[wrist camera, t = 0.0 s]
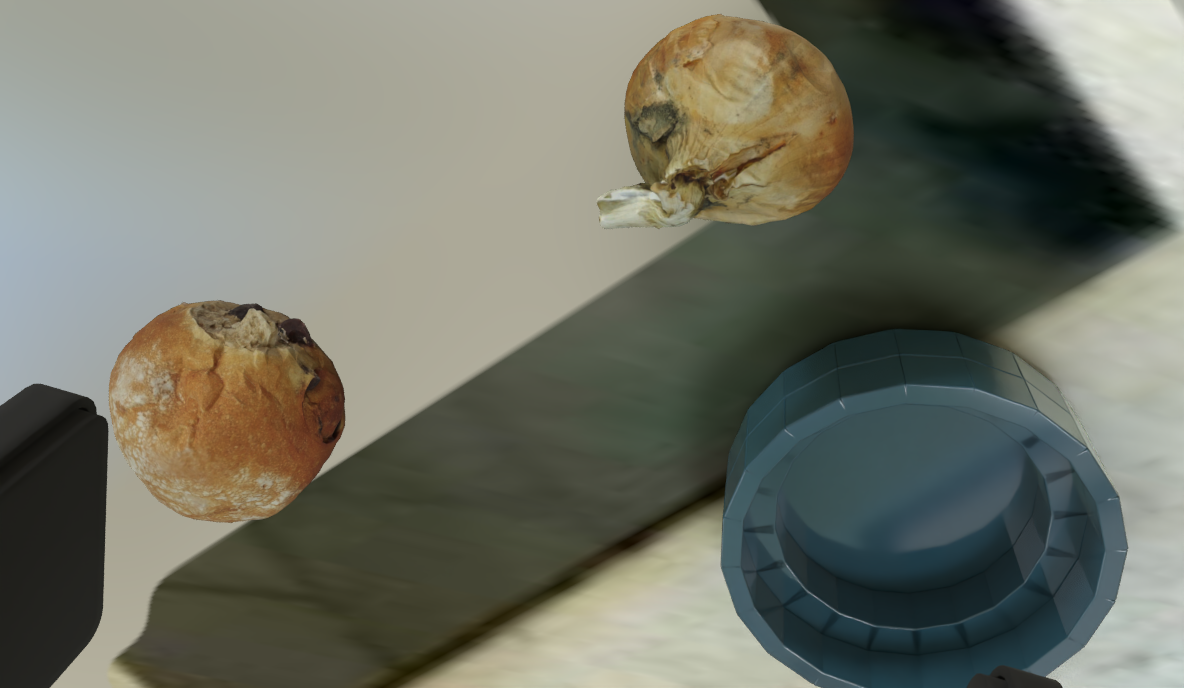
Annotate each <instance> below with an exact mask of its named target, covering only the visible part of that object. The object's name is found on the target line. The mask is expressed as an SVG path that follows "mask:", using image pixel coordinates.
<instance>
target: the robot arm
mask: <svg viewBox="0 0 1184 688" xmlns="http://www.w3.org/2000/svg"><path fill="white" fill-rule="evenodd" d="M107 457H108V423H107V421H106V419H105V418H104V417H103V416H100V415H97V412H96V406H95V404H94V402H93V401H92V400H91V399H89V398H88V397H84V396H81V395H78V394H74V393H71V392H67V391H64V390H60V389H57V388H53V387H50V386H47V385H43V384H33V385H31V386H29V387H27V388H25V389H24V390H22V391H21V392H19V393H18V394H17V395H15V396H14V397H12V398H11V399H9V400H8V401H7V402H5V403H4V404H2V405H1V406H0V688H50V687H51V685H52V684H53V683H54V682H55V681H56V680H57V679H58V678H59V677H60V675H61V674H62V673H63V672H64V671H65V670H66V669H67V667H68V666H69V665H70V664H71V663H72V662H73V661H74V659H75V658H76V657H77V656H78V655H79V654H80V653H81V652H82V650H83V649H84V648H85V647H86V646H87V645H88V643H89V642H90V641H91V639H92V637H93V636H94V634H95V632H96V630H97V628H98V625H99V623H100V620H101V616H102V611H103V587H104V556H105V554H104V553H105V522H106V491H107V490H106V488H107ZM967 688H1062V686H1061V684H1060V683H1059V682H1057V681H1056V680H1053V679H1050V678H1046V677H1043V676H1040V675H1036V674H1033V673H1029V672H1026V671H1022V670H1019V669H1016V668H1012V667H1009V666H1005V665H1000V666H998V667H996V668H995V669H994V670H993V671H992V673H991V674H990V676H988V675H985V674H981V673H978V674H976V675H975V676H973V677H972V679H971V680H970V682H969V684H968V686H967Z"/></svg>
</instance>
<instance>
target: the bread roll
mask: <svg viewBox="0 0 1184 688" xmlns="http://www.w3.org/2000/svg"><path fill="white" fill-rule="evenodd" d="M344 402H345V397H344V388H343V385H342V383H341V380H340V378H339V376H338V373H337V371H336V369H335V367H334V365H333V362H332V361H331V360H330V359H329V358H328V356H327V355H326V354H325V353H324V352H323V351H322V350H321V348H320V347H319V346H318V345H317V344H316V343H315V342H314V340H313V339H311V337H310V334H309V332H308V330H307V328H306V326H305V324H304V323H303V322H302V321H301V320H300V319H289V317H288V316H286V315H283V314H282V313H279V312H275V311H271V310H267V309H265V308H262V306H260V305H258V304H244V305H239V304H235V303H230V302H224V301H221V300H220V301H206V302H198V303H191V304H187V303H185V302H183V303H182V304H181V305H178V306H176V307H173V308H171V309H170V310H168V311H166V312H164V313H162V314H160V315H158V316H157V317H156V318H154V319H153V320H152V321H151V322H149V323H148V324H147V325H146V326H145V327H144V328H142V329H141V330H140V331H139V332H137V333H136V334H135V335H134V336H133V339H132V340H131V341H130V342H129V343H128V344H127V345H126V346H125V347H124V349H123V350H122V352H121V353H120V354H119V356H118V358H117V361H116V363H115V366H114V368H113V370H112V372H111V376H110V383H109V406H110V412H111V418H112V424H113V429H114V434H115V437H116V440H117V442H118V445H119V448H120V449H121V451H122V453H123V455H124V457H125V459H126V461H127V462H128V464H129V465H130V467H131V468H132V469H133V471H134V472H135V473H136V475H137V477H139V479H140V480H141V481H142V482H143V483H144V484H145V486H146V487H147V489H148V490H149V491H150V492H151V494H152V495H153V496H154V497H155V498H156V499H157V500H158V501H160V502H161V503H163V504H164V505H166V506H167V507H169V508H170V509H172V510H174V511H175V512H176V513H178V514H181V515H182V516H185V517H189V518H192V519H196V520H205V521H213V522H228V523H232V522H237V521H246V520H258V519H264V518H268V517H270V516H272V515H274V514H276V513H278V512H279V511H281V510H282V509H283V508H284V507H286V506H287V505H288V504H289V503H291V502H292V501H293V500H294V499H295V498H296V497H297V495H298V494H299V493H300V492H301V491H302V490H303V489H304V488H305V487H306V486H307V485H309V484H310V483H311V481H312V480H313V479H314V478H315V477H316V475H317V474H318V473H319V471H320V470H321V468H322V466H323V464H324V463H325V462H326V460H327V459H328V458H329V457H330V455H331V453H332V451H333V449H334V447H335V445H336V443H337V442H338V440H339V439H340V437H341V435H342V432H343V429H344V426H345V409H344Z"/></svg>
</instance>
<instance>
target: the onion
mask: <svg viewBox="0 0 1184 688" xmlns="http://www.w3.org/2000/svg"><path fill="white" fill-rule="evenodd" d="M625 125H626V132H627V137H628V142H629V147H630V151H631V155H632V157H633V160H634V162H635V165H636V167H637V170H638V171H639V173H640V175H641V176H642V178H643V179H644V181H645V183H640V184H637V185H634V186H630V187H622V188H620V189H618V190H610V191H608V192H607V193H605V194H603V195H601V196H599V198H598V200H597V205H598V207H599V209H600V216H599V221H600V226H601V227H603V228H604V229H613V228H629V227H656V228H658V229H659V228H661V227H676V226H682V225H684V224H686V223H688V222H689V221H690V220H691V219H692V218H698V219H703V220H713V221H722V222H726V223H740V224H747V225H752V226H755V225H759V224H763V223H767V222H771V221H778V220H785V219H788V218H790V217H793V216H796V215H799V214H800V213H803V212H805V211H808V210H810V209H812V208H813V207H814V206H815V205H817V204H818V203H819V202H820V201H821V200H823V199H824V198H825V197H826V196H827V195H828V194H830V193H831V191H832V190H833V189H834V188H835V187H836V185H837V184H838V183H839V181H840V180H841V178H842V177H843V175H844V173H845V171H846V169H847V167H848V164H849V161H850V158H851V155H852V150H853V134H854V131H853V118H852V112H851V108H850V103H849V99H848V96H847V93H846V91H845V88H844V85H843V84H842V82H841V80H840V78H839V77H838V75H837V73H836V71H835V70H834V68H833V66H832V64H831V62H830V61H829V60H828V58H827V57H826V56H825V55H824V54H823V53H822V52H821V51H820V50H819V49H817V48H816V47H815V46H813V45H812V44H811V43H810V42H809V41H807V40H806V39H804V38H803V37H801V36H799V35H798V34H796V33H794V32H792V31H790V30H788V29H786V28H783V27H781V26H778V25H774V24H770V23H766V22H764V21H756V20H749V19H743V18H738V17H728V16H723V15H721V14H717V15H711V16H706V17H703V18H700V19H698V20H695V21H692V22H690V23H688V24H686V25H684V26H681V27H679V28H677V29H674V30H673V31H671V32H670V33H669V34H668V35H667V36H666V37H665V38H663V39H662V40H660V41H659V42H658V43H657V44H656V45H655V46H654V47H653V48H652V49H651V50H650V51H649V52H648V53H647V54H646V55H645V56H644V58H643V59H642V60H641V61H640V62H639V64H638V65H637V67H636V69H635V70H634V72H633V74H632V77H631V79H630V81H629V83H628V87H627V91H626V99H625Z"/></svg>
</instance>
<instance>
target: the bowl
mask: <svg viewBox="0 0 1184 688" xmlns="http://www.w3.org/2000/svg"><path fill="white" fill-rule="evenodd" d="M1127 549H1128V544H1127V538H1126V532H1125V527H1124V521H1123V515H1122V509H1121V504H1120V498H1119V495H1118V493H1117V491H1116V489H1115V487H1114V485H1113V483H1112V482H1111V480H1110V478H1109V476H1108V474H1107V472H1106V470H1105V468H1104V466H1103V464H1102V462H1101V460H1100V458H1099V456H1098V454H1097V453H1096V451H1095V449H1094V447H1093V445H1092V443H1091V441H1090V439H1089V437H1088V435H1087V433H1086V431H1085V429H1084V428H1083V426H1082V425H1081V423H1080V422H1079V420H1078V418H1077V417H1076V415H1075V414H1074V412H1073V411H1072V409H1071V407H1070V406H1069V404H1068V403H1067V401H1066V400H1065V398H1064V396H1063V395H1062V393H1061V392H1060V390H1059V389H1058V387H1056V385H1055V384H1053V383H1052V382H1051V381H1050V380H1048V379H1047V378H1046V377H1044V376H1043V375H1042V374H1040V373H1039V372H1038V371H1036V370H1035V369H1034V368H1033V367H1031V366H1030V365H1029V364H1027V363H1026V362H1025V361H1023V360H1022V359H1021V358H1019V357H1018V356H1017V355H1015V354H1014V353H1012V352H1010V351H1008V350H1005V349H1002V348H1000V347H997V346H994V345H991V344H988V343H985V342H983V341H980V340H977V339H974V338H971V337H968V336H965V335H963V334H960V333H956V332H955V333H954V332H949V331H929V330H910V329H894V330H893V329H889V330H885V331H881V332H876V333H872V334H868V335H863V336H859V337H855V338H850V339H846V340H842V341H837V342H835V343H832V344H830V345H829V346H827V347H825V348H823V349H821V350H820V351H818V352H816V353H814V354H812V355H811V356H809V357H807V358H805V359H804V360H802V361H800V362H798V363H796V364H795V365H793V366H791V367H789V368H788V369H786V370H785V371H783V372H782V373H781V374H780V375H779V377H778V378H777V379H776V380H775V381H774V382H773V383H772V384H771V385H770V386H769V387H768V388H767V389H766V390H765V392H764V393H763V394H762V395H761V396H760V397H759V398H758V399H757V400H756V401H755V402H754V403H753V404H752V406H751V407H750V408H749V409H748V410H747V413H746V415H745V417H744V420H743V422H742V424H741V427H740V429H739V431H738V433H737V436H736V438H735V440H734V443H733V445H732V447H731V450H730V452H729V456H728V466H727V477H726V488H725V499H724V510H723V524H722V546H721V569H722V572H723V575H724V578H725V581H726V584H727V587H728V590H729V593H730V596H731V599H732V601H733V604H734V607H735V610H736V613H737V615H738V616H739V617H740V619H741V620H742V621H743V622H744V624H745V625H746V626H747V628H748V629H749V630H750V631H751V633H752V634H753V635H754V636H755V638H756V639H757V640H758V641H759V643H760V644H761V645H762V647H763V648H764V649H765V650H766V652H767V653H768V654H770V655H771V656H772V657H774V658H775V659H777V660H778V661H780V662H781V663H783V664H784V665H785V666H787V667H788V668H790V669H791V670H793V671H794V672H796V673H797V674H798V675H800V676H801V677H803V678H804V679H806V680H807V681H809V682H810V683H811V684H814V685H815V686H818V687H821V688H967V686H968V684H969V682H970V680H971V679H972V677H973V676H975V675H976V674H978V673H981V674H985V675H988V676H990V674H991V673H992V671H993V670H994V669H995V668H996V667H998V666H1000V665H1005V666H1009V667H1012V668H1016V669H1019V670H1022V671H1026V672H1029V673H1033V674H1036V675H1040V676H1043V677H1046V676H1047V675H1048V674H1050V673H1051V672H1052V671H1053V670H1055V669H1056V668H1057V667H1059V666H1060V665H1061V664H1063V663H1064V662H1065V661H1067V660H1068V659H1069V658H1071V657H1072V656H1073V655H1075V654H1076V653H1077V652H1078V651H1080V650H1081V649H1082V648H1084V647H1085V645H1086V644H1087V643H1088V641H1089V640H1090V638H1091V637H1092V635H1093V634H1094V633H1095V631H1096V630H1097V628H1098V627H1099V625H1100V624H1101V622H1102V621H1103V619H1104V618H1105V617H1106V615H1107V614H1108V612H1109V611H1110V609H1111V608H1112V606H1113V605H1114V603H1115V600H1116V598H1117V594H1118V589H1119V585H1120V581H1121V577H1122V572H1123V568H1124V564H1125V560H1126V555H1127V551H1128V550H1127Z"/></svg>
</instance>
